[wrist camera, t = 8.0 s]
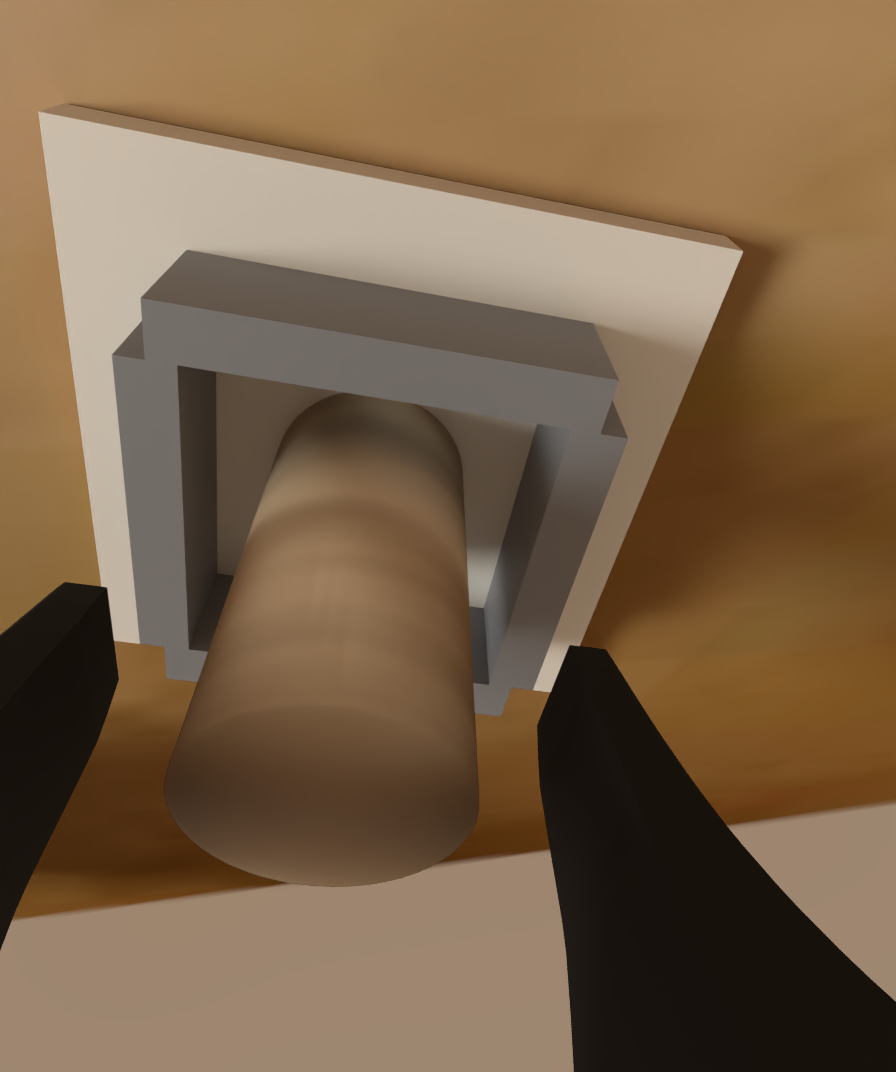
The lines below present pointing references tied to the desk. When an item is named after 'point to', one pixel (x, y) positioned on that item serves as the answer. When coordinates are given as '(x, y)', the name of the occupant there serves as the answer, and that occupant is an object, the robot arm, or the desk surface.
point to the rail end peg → (340, 662)
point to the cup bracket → (361, 364)
